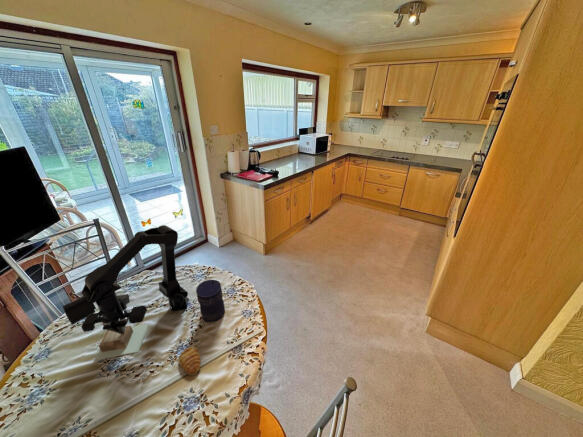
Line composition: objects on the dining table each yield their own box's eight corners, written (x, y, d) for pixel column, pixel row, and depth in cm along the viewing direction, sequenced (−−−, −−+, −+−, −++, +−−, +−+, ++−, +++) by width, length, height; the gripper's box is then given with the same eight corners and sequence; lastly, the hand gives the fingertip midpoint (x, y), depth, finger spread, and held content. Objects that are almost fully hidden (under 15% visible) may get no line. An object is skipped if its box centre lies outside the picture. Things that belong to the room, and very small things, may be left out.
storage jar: (216, 325, 96) (211, 299, 89) (196, 319, 99) (190, 293, 92) (229, 307, 105) (225, 282, 98) (211, 301, 107) (206, 277, 100)
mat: (148, 324, 96) (148, 323, 96) (138, 351, 86) (138, 351, 86) (110, 331, 93) (109, 330, 93) (95, 360, 83) (94, 359, 83)
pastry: (206, 368, 81) (204, 361, 80) (186, 381, 77) (184, 375, 76) (196, 348, 88) (194, 342, 86) (178, 359, 84) (175, 353, 82)
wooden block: (130, 325, 91) (107, 329, 90) (123, 341, 85) (98, 345, 83) (133, 331, 93) (110, 335, 91) (126, 347, 87) (102, 352, 85)
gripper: (145, 283, 89) (155, 311, 97) (89, 291, 85) (104, 319, 93) (135, 305, 80) (147, 335, 87) (72, 315, 76) (90, 345, 83)
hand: (123, 332), depth 88 cm, fingers closed
